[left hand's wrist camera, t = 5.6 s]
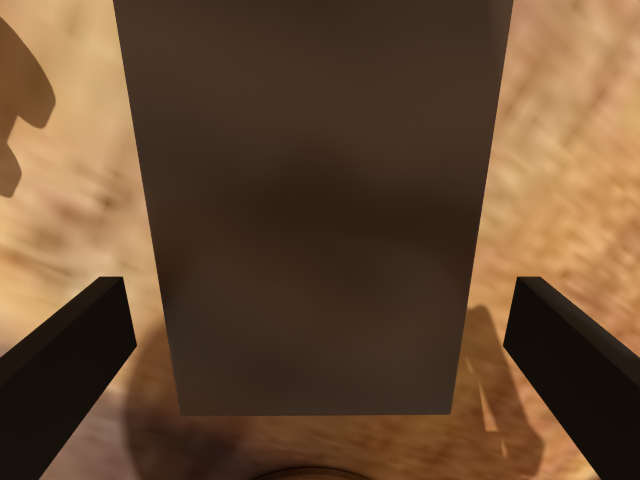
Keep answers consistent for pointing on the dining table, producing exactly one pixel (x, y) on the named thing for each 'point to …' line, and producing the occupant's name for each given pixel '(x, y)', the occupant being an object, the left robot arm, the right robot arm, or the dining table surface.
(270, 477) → the left robot arm
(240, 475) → the dining table surface
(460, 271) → the wooden chest box
